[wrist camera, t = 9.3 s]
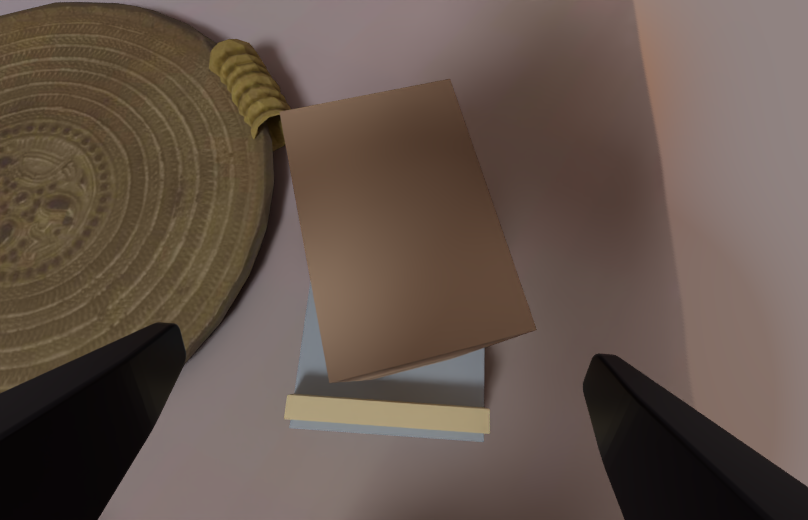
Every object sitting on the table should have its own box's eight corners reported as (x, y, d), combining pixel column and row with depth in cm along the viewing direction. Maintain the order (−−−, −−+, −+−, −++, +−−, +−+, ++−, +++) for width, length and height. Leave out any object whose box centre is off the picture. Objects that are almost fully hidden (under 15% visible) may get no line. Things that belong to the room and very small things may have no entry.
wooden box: (454, 358, 19) (544, 327, 7) (368, 380, 18) (321, 385, 7) (422, 245, 20) (455, 78, 9) (343, 264, 20) (272, 113, 9)
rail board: (475, 435, 20) (489, 446, 17) (299, 423, 20) (281, 431, 17) (477, 219, 23) (490, 195, 20) (329, 209, 23) (318, 183, 20)
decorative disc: (-316, 129, 22) (153, -95, 26) (-224, 159, 25) (181, -45, 30) (-217, 625, 16) (389, 224, 20) (-110, 581, 19) (392, 244, 23)
